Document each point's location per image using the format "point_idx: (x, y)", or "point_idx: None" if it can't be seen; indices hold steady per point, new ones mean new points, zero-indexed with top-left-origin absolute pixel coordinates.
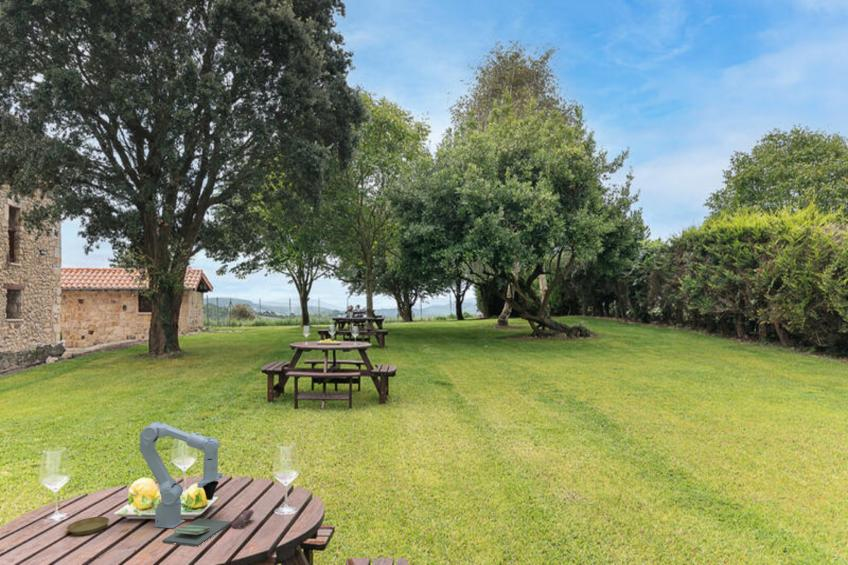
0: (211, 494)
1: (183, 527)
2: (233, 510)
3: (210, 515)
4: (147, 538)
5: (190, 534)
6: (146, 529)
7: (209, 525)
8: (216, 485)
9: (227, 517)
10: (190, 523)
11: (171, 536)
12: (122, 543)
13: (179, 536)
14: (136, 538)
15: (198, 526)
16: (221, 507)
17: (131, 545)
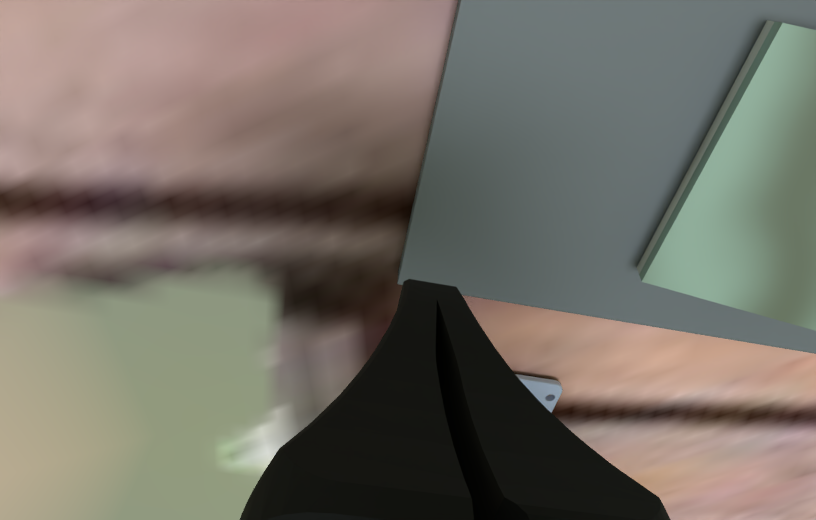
0: (486, 342)
1: (775, 301)
2: (63, 23)
3: (265, 221)
4: (697, 443)
5: None
6: None
7: (595, 103)
8: (371, 435)
9: (284, 6)
10: (518, 300)
11: (781, 327)
12: (733, 513)
13: None
14: (678, 487)
15: (717, 185)
16: (45, 201)
17: (784, 472)
